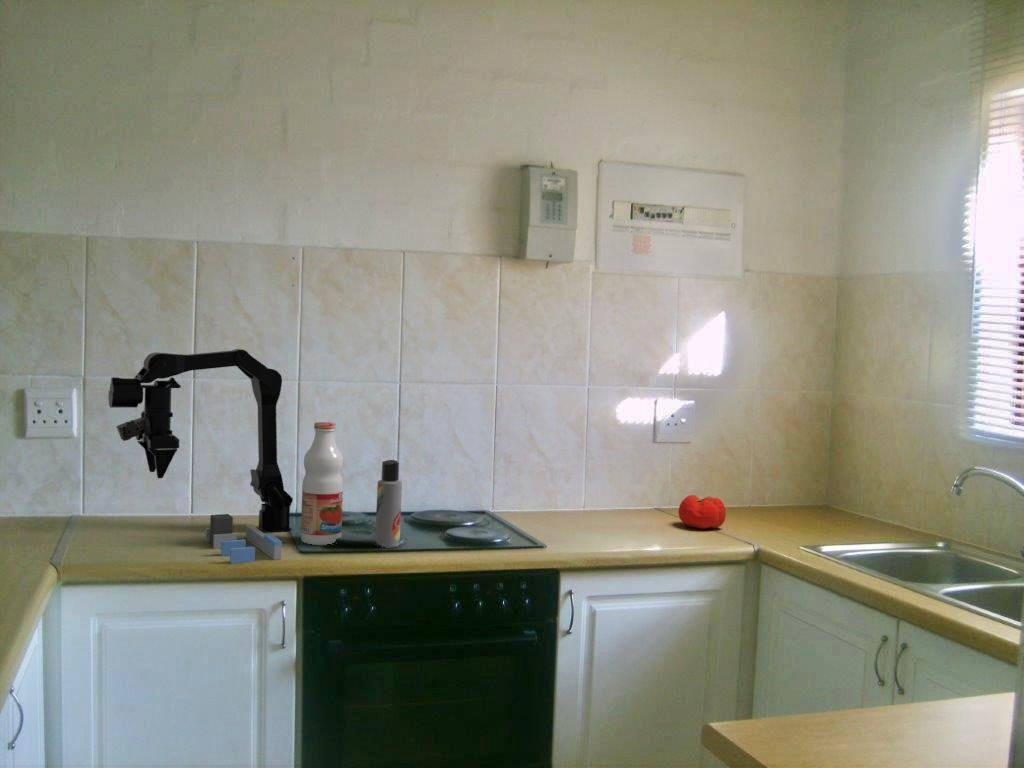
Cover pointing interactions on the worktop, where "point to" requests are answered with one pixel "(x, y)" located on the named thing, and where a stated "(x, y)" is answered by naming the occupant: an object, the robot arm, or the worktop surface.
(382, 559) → the worktop surface
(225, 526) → the dark grey rectangular block
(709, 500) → the tomato
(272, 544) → the grey and blue blocks
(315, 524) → the fruit juice
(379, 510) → the lotion bottle
